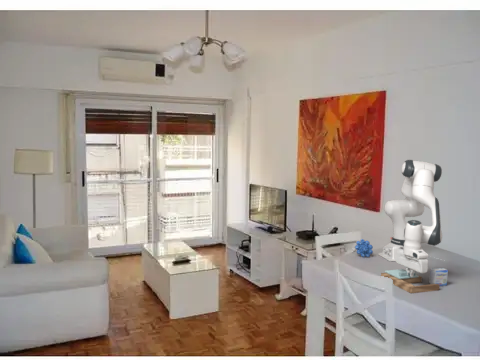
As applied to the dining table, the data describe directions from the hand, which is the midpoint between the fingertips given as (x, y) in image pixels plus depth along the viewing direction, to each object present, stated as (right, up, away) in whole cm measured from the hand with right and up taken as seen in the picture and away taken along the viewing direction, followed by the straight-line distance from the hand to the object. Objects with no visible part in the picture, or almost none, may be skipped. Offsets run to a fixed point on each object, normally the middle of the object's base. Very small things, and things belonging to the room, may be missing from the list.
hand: (410, 276), depth 236 cm
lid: (-2, 0, +6) cm, 7 cm away
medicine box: (+15, -5, +1) cm, 16 cm away
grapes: (-11, +1, +50) cm, 51 cm away
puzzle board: (0, -4, +1) cm, 4 cm away
